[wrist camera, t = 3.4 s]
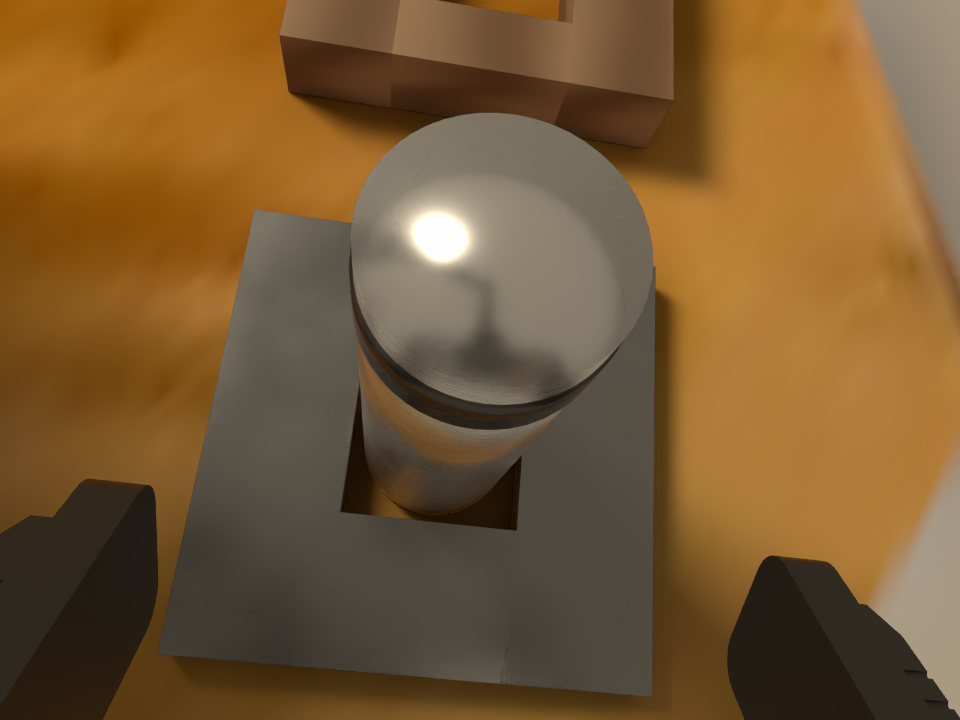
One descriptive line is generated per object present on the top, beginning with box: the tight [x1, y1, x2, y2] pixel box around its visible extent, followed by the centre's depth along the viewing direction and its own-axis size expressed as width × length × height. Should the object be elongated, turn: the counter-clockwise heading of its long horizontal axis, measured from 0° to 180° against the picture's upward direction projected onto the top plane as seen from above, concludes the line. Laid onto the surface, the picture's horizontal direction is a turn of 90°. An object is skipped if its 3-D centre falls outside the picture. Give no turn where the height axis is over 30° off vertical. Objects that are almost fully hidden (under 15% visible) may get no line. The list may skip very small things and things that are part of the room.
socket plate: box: [157, 210, 655, 697], centre depth 20 cm, size 12×12×1 cm
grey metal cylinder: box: [349, 113, 653, 515], centre depth 15 cm, size 4×4×12 cm
